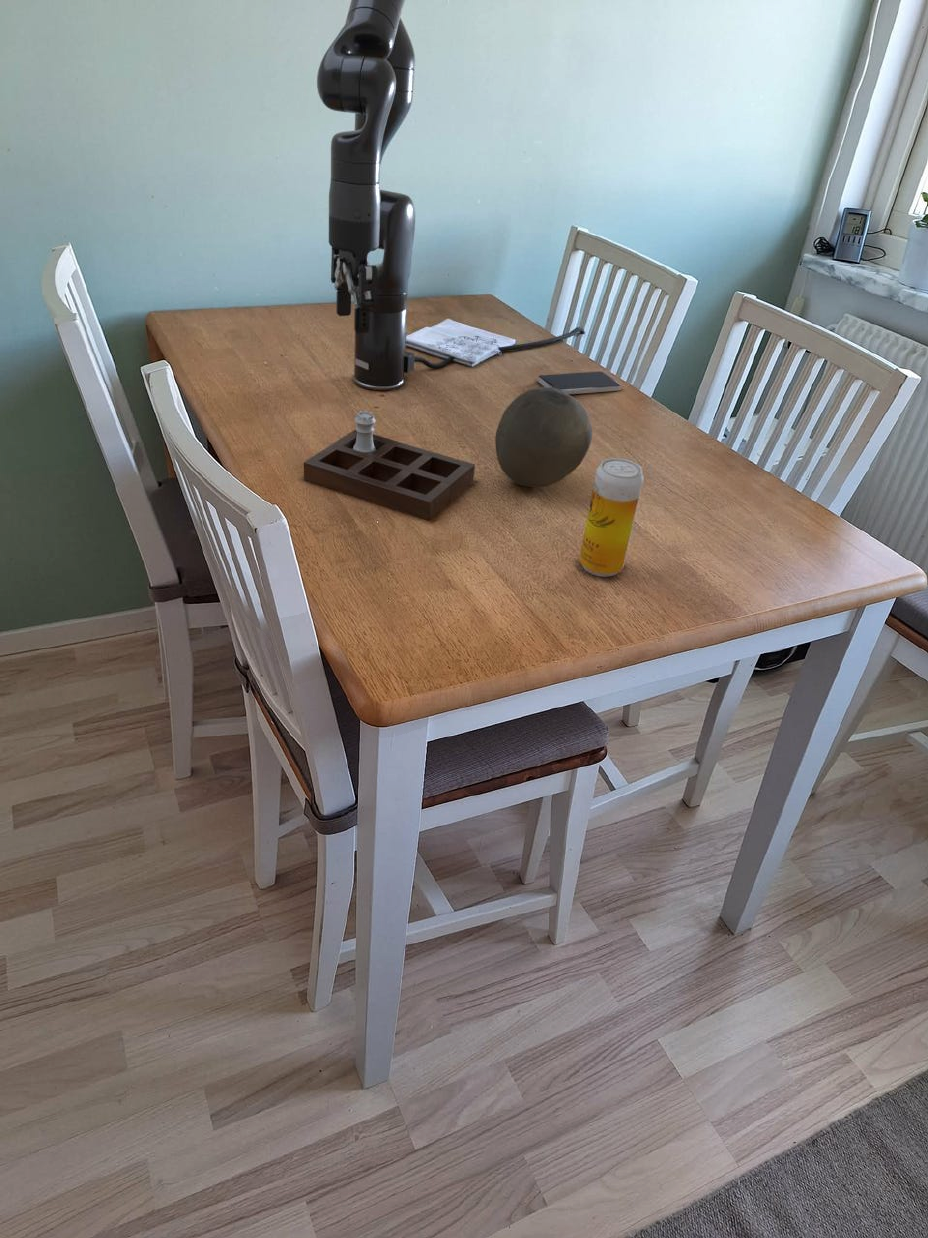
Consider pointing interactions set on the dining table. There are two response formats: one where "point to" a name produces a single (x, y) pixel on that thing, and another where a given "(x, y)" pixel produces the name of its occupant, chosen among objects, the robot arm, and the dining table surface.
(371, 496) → the open grid frame
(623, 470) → the beer can
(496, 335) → the white paper booklet
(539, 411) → the cantaloupe
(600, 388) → the smartphone
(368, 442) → the rook chess piece
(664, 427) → the dining table surface
